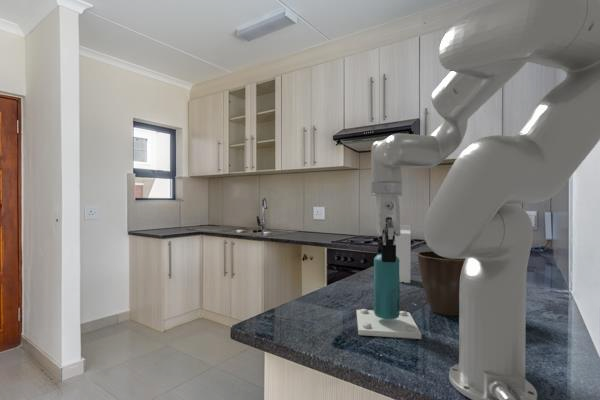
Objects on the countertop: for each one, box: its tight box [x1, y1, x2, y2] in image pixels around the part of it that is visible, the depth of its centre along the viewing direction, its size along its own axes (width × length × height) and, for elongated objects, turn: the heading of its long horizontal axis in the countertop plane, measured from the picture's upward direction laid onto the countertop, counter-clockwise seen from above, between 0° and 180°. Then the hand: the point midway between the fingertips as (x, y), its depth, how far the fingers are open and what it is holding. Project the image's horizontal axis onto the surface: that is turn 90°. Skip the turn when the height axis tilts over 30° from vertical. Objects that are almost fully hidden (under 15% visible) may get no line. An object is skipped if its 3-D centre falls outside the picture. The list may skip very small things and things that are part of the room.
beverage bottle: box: [372, 241, 401, 319], centre depth 80 cm, size 6×7×20 cm
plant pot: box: [417, 250, 466, 317], centre depth 91 cm, size 15×15×16 cm
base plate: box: [356, 308, 422, 340], centre depth 80 cm, size 14×14×2 cm
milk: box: [395, 223, 412, 284], centre depth 125 cm, size 6×6×22 cm
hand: (386, 258), depth 80 cm, fingers open, 9 cm apart
